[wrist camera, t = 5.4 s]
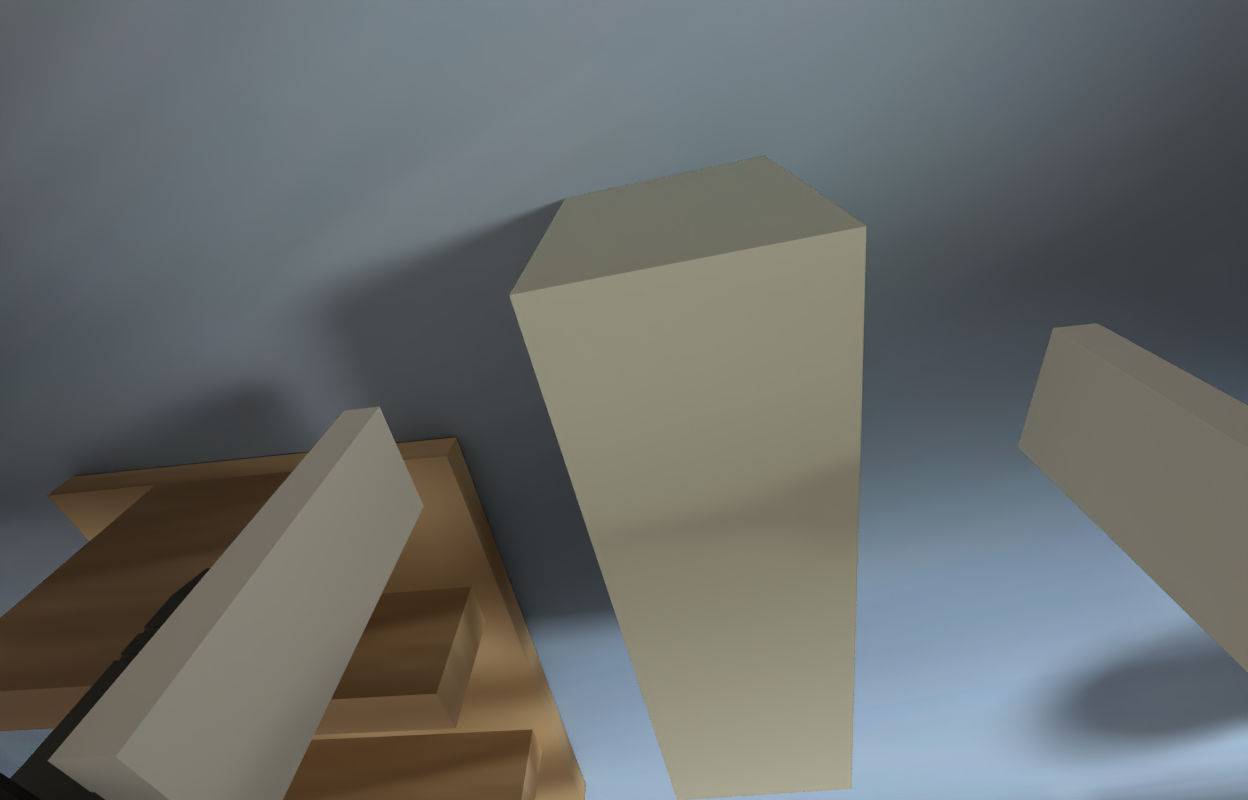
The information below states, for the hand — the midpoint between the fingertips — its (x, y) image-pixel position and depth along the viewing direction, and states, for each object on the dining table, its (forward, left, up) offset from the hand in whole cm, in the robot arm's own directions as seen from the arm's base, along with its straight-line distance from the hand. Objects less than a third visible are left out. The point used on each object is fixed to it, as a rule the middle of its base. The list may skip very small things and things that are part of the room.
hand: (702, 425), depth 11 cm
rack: (+15, -15, -5) cm, 22 cm away
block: (+4, 0, -5) cm, 7 cm away
